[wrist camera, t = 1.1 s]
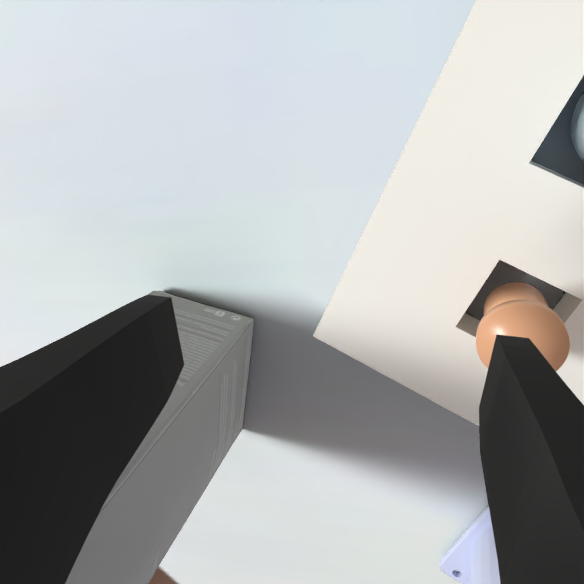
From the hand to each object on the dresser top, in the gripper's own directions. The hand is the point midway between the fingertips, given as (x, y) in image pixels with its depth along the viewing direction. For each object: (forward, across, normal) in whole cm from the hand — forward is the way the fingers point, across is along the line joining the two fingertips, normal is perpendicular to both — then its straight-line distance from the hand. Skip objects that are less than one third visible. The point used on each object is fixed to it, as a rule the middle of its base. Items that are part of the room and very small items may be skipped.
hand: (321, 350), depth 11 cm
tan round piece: (+10, -6, +5) cm, 13 cm away
